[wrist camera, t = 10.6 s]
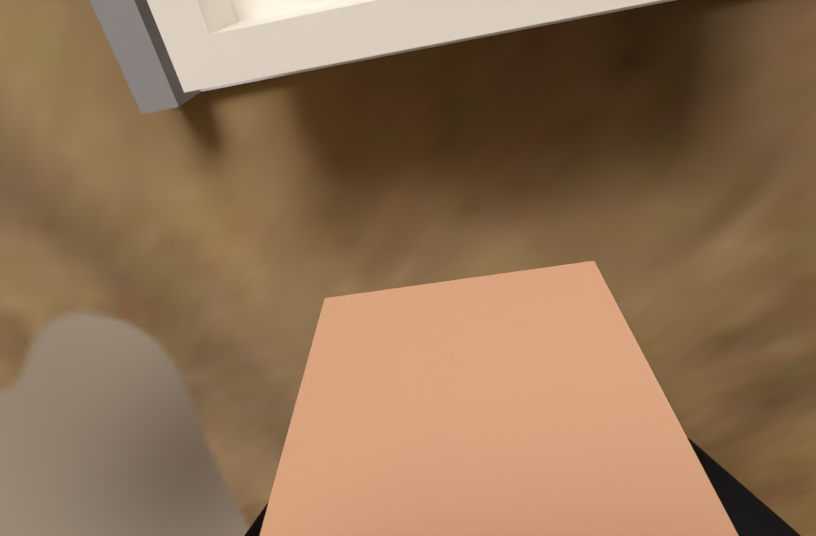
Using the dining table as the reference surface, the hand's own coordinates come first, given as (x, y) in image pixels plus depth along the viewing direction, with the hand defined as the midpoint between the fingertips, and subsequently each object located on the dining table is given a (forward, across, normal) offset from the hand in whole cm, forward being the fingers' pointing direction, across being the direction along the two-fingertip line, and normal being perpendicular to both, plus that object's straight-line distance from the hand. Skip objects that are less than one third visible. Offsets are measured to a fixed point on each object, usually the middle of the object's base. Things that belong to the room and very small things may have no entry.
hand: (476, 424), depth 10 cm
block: (+1, 0, 0) cm, 1 cm away
